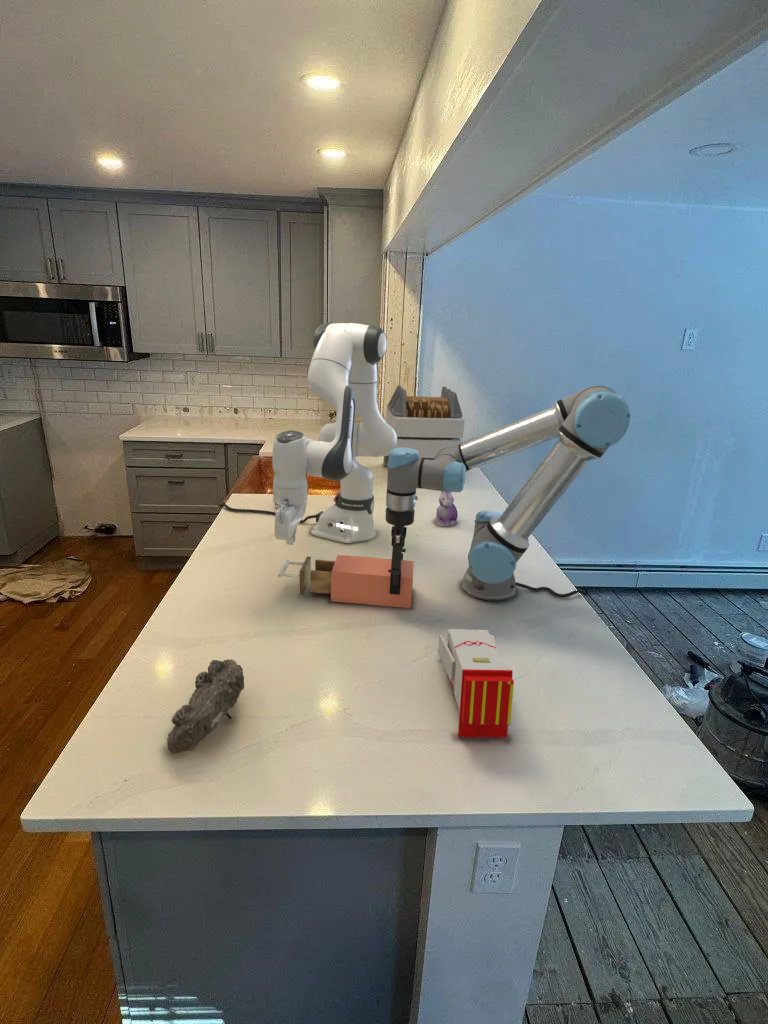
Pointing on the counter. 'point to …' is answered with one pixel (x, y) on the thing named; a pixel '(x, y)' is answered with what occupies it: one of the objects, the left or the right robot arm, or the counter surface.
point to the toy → (478, 682)
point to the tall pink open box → (370, 581)
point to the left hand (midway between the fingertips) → (290, 542)
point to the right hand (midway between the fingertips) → (395, 583)
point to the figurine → (446, 510)
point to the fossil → (206, 705)
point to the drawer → (312, 575)
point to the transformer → (425, 422)
